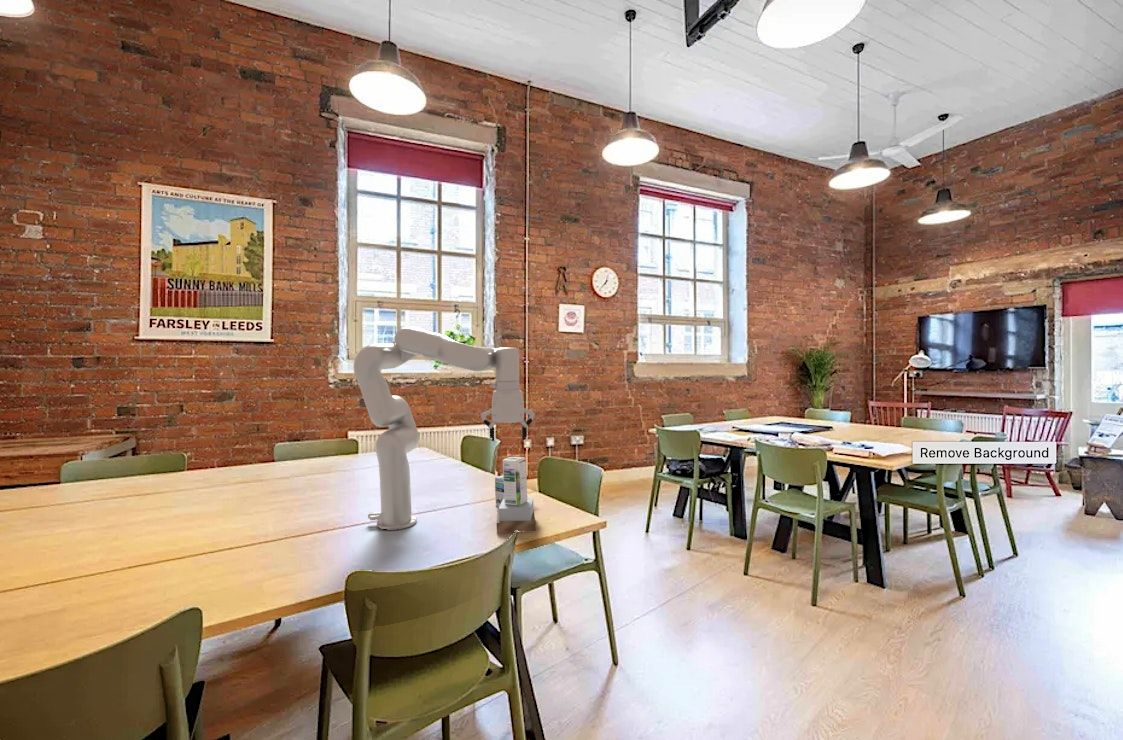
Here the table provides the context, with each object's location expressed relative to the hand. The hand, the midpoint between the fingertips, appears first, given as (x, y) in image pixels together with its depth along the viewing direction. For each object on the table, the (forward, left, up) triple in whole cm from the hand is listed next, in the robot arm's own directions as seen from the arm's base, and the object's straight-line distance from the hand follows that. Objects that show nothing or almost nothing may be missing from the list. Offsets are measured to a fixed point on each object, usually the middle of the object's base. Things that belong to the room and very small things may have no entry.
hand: (508, 439), depth 159 cm
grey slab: (+2, 0, -25) cm, 25 cm away
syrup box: (+2, 0, -21) cm, 21 cm away
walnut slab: (+2, 0, -29) cm, 29 cm away
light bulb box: (0, +23, -28) cm, 37 cm away
